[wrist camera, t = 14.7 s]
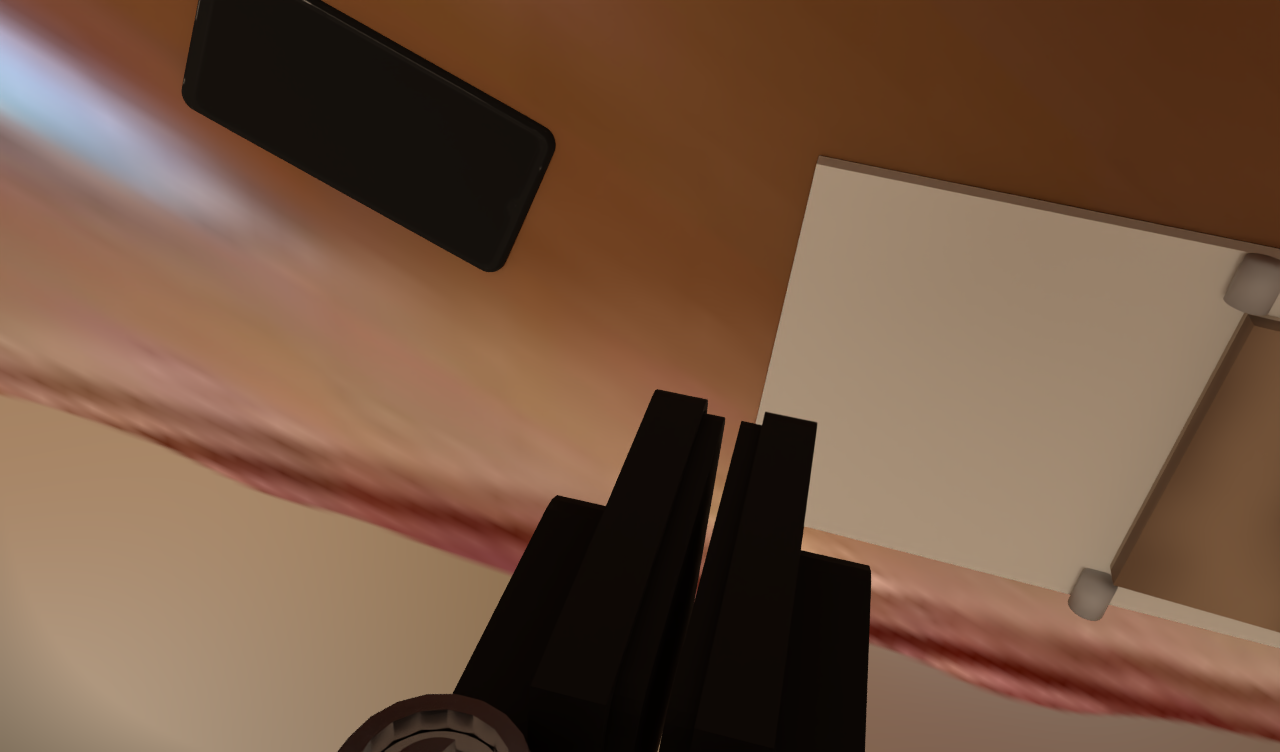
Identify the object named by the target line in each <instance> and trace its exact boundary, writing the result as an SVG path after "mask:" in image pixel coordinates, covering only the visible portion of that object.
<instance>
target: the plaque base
mask: <svg viewBox="0 0 1280 752" xmlns="http://www.w3.org/2000/svg"><path fill="white" fill-rule="evenodd" d="M1244 313H1248V314H1252V315H1258V316H1264V315H1269V316H1273V317H1277V318H1280V249H1278V248H1273V247H1268V246H1263V245H1258V244H1253V243H1248V242H1243V241H1238V240H1233V239H1228V238H1223V237H1219V236H1214V235H1209V234H1204V233H1199V232H1194V231H1189V230H1184V229H1179V228H1174V227H1169V226H1164V225H1159V224H1154V223H1150V222H1145V221H1140V220H1135V219H1130V218H1125V217H1120V216H1115V215H1110V214H1105V213H1100V212H1095V211H1090V210H1085V209H1081V208H1076V207H1071V206H1066V205H1061V204H1056V203H1051V202H1046V201H1041V200H1036V199H1031V198H1026V197H1021V196H1017V195H1012V194H1007V193H1002V192H997V191H992V190H987V189H982V188H977V187H972V186H967V185H962V184H957V183H952V182H948V181H943V180H938V179H933V178H928V177H923V176H918V175H913V174H908V173H903V172H898V171H893V170H888V169H883V168H879V167H874V166H869V165H864V164H859V163H854V162H849V161H844V160H839V159H834V158H829V157H824V156H819V157H818V161H817V165H816V169H815V173H814V177H813V182H812V186H811V190H810V194H809V199H808V203H807V207H806V212H805V216H804V220H803V224H802V229H801V233H800V237H799V241H798V246H797V250H796V254H795V258H794V263H793V267H792V271H791V275H790V280H789V284H788V288H787V292H786V297H785V301H784V305H783V309H782V314H781V318H780V322H779V326H778V331H777V335H776V339H775V343H774V348H773V352H772V356H771V360H770V365H769V369H768V373H767V377H766V382H765V386H764V390H763V394H762V399H761V403H760V407H759V411H758V416H757V420H756V424H759V425H762V423H763V418H764V414H765V412H770V413H775V414H780V415H784V416H789V417H794V418H799V419H804V420H809V421H814V422H817V432H816V440H815V447H814V455H813V462H812V470H811V477H810V485H809V492H808V500H807V507H806V514H805V522H804V526H805V527H809V528H813V529H817V530H821V531H825V532H829V533H832V534H836V535H840V536H844V537H848V538H852V539H856V540H860V541H864V542H868V543H871V544H875V545H879V546H883V547H887V548H891V549H895V550H899V551H903V552H906V553H910V554H914V555H918V556H922V557H926V558H930V559H934V560H938V561H941V562H945V563H949V564H953V565H957V566H961V567H965V568H969V569H973V570H976V571H980V572H984V573H988V574H992V575H996V576H1000V577H1004V578H1008V579H1011V580H1015V581H1019V582H1023V583H1027V584H1031V585H1035V586H1039V587H1043V588H1046V589H1050V590H1054V591H1058V592H1062V593H1066V594H1070V595H1071V596H1070V597H1069V599H1068V605H1069V607H1070V609H1071V610H1072V611H1073V612H1074V613H1075V614H1077V615H1078V616H1080V617H1082V618H1084V619H1087V620H1091V621H1096V620H1100V619H1101V618H1102V616H1103V615H1104V613H1105V611H1106V609H1107V607H1108V605H1113V606H1117V607H1120V608H1124V609H1128V610H1132V611H1136V612H1140V613H1144V614H1148V615H1152V616H1155V617H1159V618H1163V619H1167V620H1171V621H1175V622H1179V623H1183V624H1187V625H1190V626H1194V627H1198V628H1202V629H1206V630H1210V631H1214V632H1218V633H1222V634H1225V635H1229V636H1233V637H1237V638H1241V639H1245V640H1249V641H1253V642H1257V643H1260V644H1264V645H1268V646H1272V647H1276V648H1280V633H1279V632H1276V631H1272V630H1269V629H1265V628H1262V627H1258V626H1255V625H1251V624H1248V623H1244V622H1241V621H1237V620H1234V619H1230V618H1227V617H1223V616H1220V615H1216V614H1213V613H1209V612H1206V611H1202V610H1199V609H1195V608H1192V607H1188V606H1185V605H1181V604H1178V603H1174V602H1171V601H1167V600H1164V599H1160V598H1157V597H1153V596H1150V595H1146V594H1143V593H1139V592H1136V591H1132V590H1129V589H1125V588H1122V587H1118V586H1115V585H1113V581H1112V575H1111V570H1110V564H1111V562H1112V560H1113V559H1114V557H1115V555H1116V553H1117V551H1118V549H1119V547H1120V545H1121V544H1122V542H1123V540H1124V538H1125V536H1126V534H1127V532H1128V530H1129V528H1130V527H1131V525H1132V523H1133V521H1134V519H1135V517H1136V515H1137V513H1138V512H1139V510H1140V508H1141V506H1142V504H1143V502H1144V500H1145V498H1146V497H1147V495H1148V493H1149V491H1150V489H1151V487H1152V485H1153V483H1154V481H1155V480H1156V478H1157V476H1158V474H1159V472H1160V470H1161V468H1162V466H1163V465H1164V463H1165V461H1166V459H1167V457H1168V455H1169V453H1170V451H1171V450H1172V448H1173V446H1174V444H1175V442H1176V440H1177V438H1178V436H1179V435H1180V433H1181V431H1182V429H1183V427H1184V425H1185V423H1186V421H1187V419H1188V418H1189V416H1190V414H1191V412H1192V410H1193V408H1194V406H1195V404H1196V403H1197V401H1198V399H1199V397H1200V395H1201V393H1202V391H1203V389H1204V388H1205V386H1206V384H1207V382H1208V380H1209V378H1210V376H1211V374H1212V372H1213V371H1214V369H1215V367H1216V365H1217V363H1218V361H1219V359H1220V357H1221V356H1222V354H1223V352H1224V350H1225V348H1226V346H1227V344H1228V342H1229V341H1230V339H1231V337H1232V335H1233V333H1234V331H1235V329H1236V327H1237V325H1238V324H1239V322H1240V320H1241V318H1242V316H1243V314H1244Z"/></svg>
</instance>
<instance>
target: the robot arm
mask: <svg viewBox="0 0 1280 752" xmlns="http://www.w3.org/2000/svg"><path fill="white" fill-rule="evenodd" d="M707 407H708V400H707V399H702V398H697V397H692V396H687V395H683V394H678V393H673V392H668V391H663V390H658V389H657V390H655V392H654V394H653V396H652V398H651V401H650V403H649V405H648V408H647V410H646V413H645V415H644V417H643V420H642V422H641V424H640V427H639V429H638V432H637V434H636V436H635V439H634V441H633V443H632V446H631V448H630V450H629V453H628V455H627V458H626V460H625V462H624V465H623V467H622V469H621V472H620V474H619V477H618V479H617V481H616V484H615V486H614V488H613V491H612V493H611V495H610V498H609V500H608V503H607V505H606V506H603V505H598V504H594V503H589V502H585V501H581V500H576V499H572V498H567V497H563V496H559V495H557V496H555V497H554V498H553V499H552V500H551V502H550V503H549V505H548V507H547V508H546V510H545V512H544V514H543V516H542V518H541V520H540V522H539V524H538V526H537V528H536V530H535V532H534V534H533V536H532V538H531V540H530V542H529V544H528V546H527V548H526V550H525V552H524V554H523V556H522V558H521V560H520V562H519V563H518V565H517V567H516V569H515V571H514V573H513V575H512V577H511V579H510V582H509V583H508V585H507V587H506V589H505V591H504V593H503V595H502V597H501V599H500V601H499V603H498V605H497V607H496V609H495V611H494V613H493V615H492V617H491V619H490V621H489V623H488V625H487V627H486V629H485V631H484V633H483V635H482V637H481V639H480V641H479V643H478V645H477V646H476V649H475V651H474V652H473V655H472V656H471V659H470V660H469V662H468V664H467V666H466V668H465V670H464V672H463V674H462V676H461V678H460V680H459V682H458V684H457V686H456V688H455V690H454V692H453V694H426V695H422V696H418V697H415V698H411V699H407V700H403V701H399V702H396V703H395V704H393V705H391V706H389V707H387V708H385V709H384V710H382V711H380V712H378V713H376V714H374V715H373V716H371V717H370V718H369V719H368V720H367V721H366V722H365V723H363V725H361V726H360V727H359V728H358V729H357V730H356V731H355V732H354V733H353V734H352V735H351V736H350V737H349V738H348V739H347V740H346V742H345V743H344V744H343V745H342V747H341V748H340V749H339V750H338V752H657V751H658V747H659V744H660V749H659V752H865V732H866V706H867V705H866V703H867V679H868V652H869V626H870V599H871V570H870V566H868V565H864V564H859V563H855V562H850V561H846V560H842V559H837V558H833V557H828V556H824V555H819V554H815V553H811V552H806V551H802V550H801V544H802V537H803V529H804V522H805V514H806V507H807V500H808V492H809V485H810V477H811V470H812V462H813V455H814V447H815V440H816V432H817V422H814V421H809V420H804V419H799V418H794V417H789V416H784V415H780V414H775V413H770V412H765V414H764V418H763V423H762V425H759V424H754V423H749V422H744V421H742V422H741V425H740V428H739V432H738V436H737V440H736V444H735V448H734V452H733V455H732V459H731V463H730V467H729V471H728V475H727V479H726V482H725V486H724V490H723V494H722V498H721V502H720V506H719V509H718V513H717V517H716V521H715V525H714V529H713V533H712V536H711V540H710V544H709V548H708V552H707V556H706V560H705V563H704V567H703V571H702V575H701V579H700V583H699V587H698V590H697V594H696V589H697V583H698V577H699V571H700V565H701V559H702V554H703V548H704V542H705V536H706V530H707V524H708V519H709V513H710V507H711V501H712V495H713V489H714V483H715V478H716V472H717V466H718V460H719V454H720V448H721V443H722V437H723V431H724V425H725V417H720V416H715V415H711V414H707ZM695 594H696V598H695ZM694 600H695V602H694ZM661 736H662V737H661ZM660 740H661V743H660Z"/></svg>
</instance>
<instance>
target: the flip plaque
mask: <svg viewBox="0 0 1280 752" xmlns="http://www.w3.org/2000/svg"><path fill="white" fill-rule="evenodd" d="M1110 570H1111V575H1112V581H1113V585H1115V586H1118V587H1122V588H1125V589H1129V590H1132V591H1136V592H1139V593H1143V594H1146V595H1150V596H1153V597H1157V598H1160V599H1164V600H1167V601H1171V602H1174V603H1178V604H1181V605H1185V606H1188V607H1192V608H1195V609H1199V610H1202V611H1206V612H1209V613H1213V614H1216V615H1220V616H1223V617H1227V618H1230V619H1234V620H1237V621H1241V622H1244V623H1248V624H1251V625H1255V626H1258V627H1262V628H1265V629H1269V630H1272V631H1276V632H1279V633H1280V318H1277V317H1273V316H1269V315H1264V316H1258V315H1252V314H1248V313H1244V314H1243V316H1242V318H1241V320H1240V322H1239V324H1238V325H1237V327H1236V329H1235V331H1234V333H1233V335H1232V337H1231V339H1230V341H1229V342H1228V344H1227V346H1226V348H1225V350H1224V352H1223V354H1222V356H1221V357H1220V359H1219V361H1218V363H1217V365H1216V367H1215V369H1214V371H1213V372H1212V374H1211V376H1210V378H1209V380H1208V382H1207V384H1206V386H1205V388H1204V389H1203V391H1202V393H1201V395H1200V397H1199V399H1198V401H1197V403H1196V404H1195V406H1194V408H1193V410H1192V412H1191V414H1190V416H1189V418H1188V419H1187V421H1186V423H1185V425H1184V427H1183V429H1182V431H1181V433H1180V435H1179V436H1178V438H1177V440H1176V442H1175V444H1174V446H1173V448H1172V450H1171V451H1170V453H1169V455H1168V457H1167V459H1166V461H1165V463H1164V465H1163V466H1162V468H1161V470H1160V472H1159V474H1158V476H1157V478H1156V480H1155V481H1154V483H1153V485H1152V487H1151V489H1150V491H1149V493H1148V495H1147V497H1146V498H1145V500H1144V502H1143V504H1142V506H1141V508H1140V510H1139V512H1138V513H1137V515H1136V517H1135V519H1134V521H1133V523H1132V525H1131V527H1130V528H1129V530H1128V532H1127V534H1126V536H1125V538H1124V540H1123V542H1122V544H1121V545H1120V547H1119V549H1118V551H1117V553H1116V555H1115V557H1114V559H1113V560H1112V562H1111V564H1110Z"/></svg>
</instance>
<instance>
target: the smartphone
mask: <svg viewBox="0 0 1280 752" xmlns="http://www.w3.org/2000/svg"><path fill="white" fill-rule="evenodd" d="M326 7H327V8H326ZM381 38H382V39H381ZM475 91H476V92H475ZM182 96H183V99H184V101H185V102H186V104H187V105H188V106H189V107H190V108H191V109H193V110H195V111H197V112H198V113H200V114H202V115H204V116H205V117H207V118H209V119H211V120H213V121H214V122H216V123H218V124H220V125H222V126H223V127H225V128H227V129H229V130H230V131H232V132H234V133H236V134H238V135H239V136H241V137H243V138H245V139H247V140H248V141H250V142H252V143H254V144H256V145H257V146H259V147H261V148H263V149H265V150H266V151H268V152H270V153H272V154H274V155H275V156H277V157H279V158H281V159H283V160H284V161H286V162H288V163H290V164H292V165H293V166H295V167H297V168H299V169H301V170H302V171H304V172H306V173H308V174H310V175H311V176H313V177H315V178H317V179H319V180H320V181H322V182H324V183H326V184H328V185H329V186H331V187H333V188H335V189H337V190H338V191H340V192H342V193H344V194H346V195H347V196H349V197H351V198H353V199H355V200H356V201H358V202H360V203H362V204H364V205H365V206H367V207H369V208H371V209H373V210H374V211H376V212H378V213H380V214H382V215H383V216H385V217H387V218H389V219H391V220H392V221H394V222H396V223H398V224H400V225H401V226H403V227H405V228H407V229H409V230H410V231H412V232H414V233H416V234H418V235H419V236H421V237H423V238H425V239H427V240H428V241H430V242H432V243H434V244H436V245H437V246H439V247H441V248H443V249H445V250H446V251H448V252H450V253H452V254H454V255H455V256H457V257H459V258H461V259H463V260H465V261H466V262H468V263H470V264H472V265H474V266H475V267H477V268H479V269H481V270H483V271H486V272H495V271H497V270H499V269H500V268H502V266H503V265H504V264H505V262H506V259H507V257H508V255H509V253H510V251H511V248H512V246H513V244H514V242H515V239H516V237H517V235H518V233H519V230H520V228H521V226H522V224H523V221H524V219H525V217H526V215H527V212H528V210H529V208H530V206H531V203H532V201H533V199H534V197H535V194H536V192H537V190H538V188H539V185H540V183H541V181H542V179H543V176H544V174H545V172H546V170H547V167H548V165H549V163H550V160H551V158H552V156H553V153H554V151H555V139H554V136H553V134H552V133H551V132H550V131H549V130H548V129H547V128H546V127H544V126H542V125H541V124H539V123H537V122H535V121H534V120H532V119H530V118H528V117H527V116H525V115H523V114H521V113H520V112H518V111H516V110H514V109H513V108H511V107H509V106H507V105H506V104H504V103H502V102H500V101H498V100H497V99H495V98H493V97H491V96H490V95H488V94H486V93H484V92H483V91H481V90H479V89H477V88H475V87H474V86H472V85H470V84H468V83H467V82H465V81H463V80H461V79H459V78H458V77H456V76H454V75H452V74H451V73H449V72H447V71H445V70H443V69H442V68H440V67H438V66H436V65H435V64H433V63H431V62H429V61H427V60H426V59H424V58H422V57H420V56H419V55H417V54H415V53H413V52H412V51H410V50H408V49H406V48H404V47H403V46H401V45H399V44H397V43H396V42H394V41H392V40H390V39H388V38H387V37H385V36H383V35H381V34H380V33H378V32H376V31H374V30H372V29H371V28H369V27H367V26H365V25H364V24H362V23H360V22H358V21H356V20H355V19H353V18H351V17H349V16H348V15H346V14H344V13H342V12H341V11H339V10H337V9H335V8H333V7H332V6H330V5H328V4H326V3H325V2H323V1H321V0H199V1H198V6H197V11H196V16H195V21H194V27H193V32H192V37H191V42H190V48H189V53H188V58H187V63H186V69H185V74H184V79H183V85H182ZM528 121H529V122H528ZM514 236H515V237H514ZM510 245H511V246H510Z"/></svg>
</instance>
